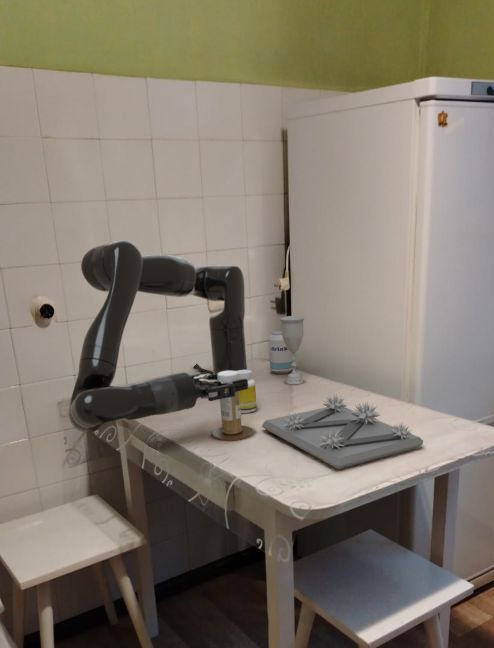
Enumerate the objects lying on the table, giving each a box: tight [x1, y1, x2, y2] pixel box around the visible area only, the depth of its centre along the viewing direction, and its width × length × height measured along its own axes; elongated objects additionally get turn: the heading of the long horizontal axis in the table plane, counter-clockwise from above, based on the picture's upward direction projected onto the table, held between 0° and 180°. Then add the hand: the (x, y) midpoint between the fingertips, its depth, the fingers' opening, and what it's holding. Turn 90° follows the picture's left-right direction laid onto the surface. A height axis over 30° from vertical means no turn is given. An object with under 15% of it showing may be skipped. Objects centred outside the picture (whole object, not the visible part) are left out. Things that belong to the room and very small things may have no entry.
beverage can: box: [268, 330, 293, 375], centre depth 192 cm, size 7×7×12 cm
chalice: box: [279, 315, 306, 385], centre depth 179 cm, size 7×7×18 cm
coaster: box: [212, 425, 254, 442], centre depth 142 cm, size 9×9×1 cm
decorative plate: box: [261, 393, 424, 470], centre depth 134 cm, size 30×22×7 cm
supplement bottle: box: [237, 369, 258, 414], centre depth 157 cm, size 5×5×10 cm
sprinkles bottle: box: [217, 371, 243, 435], centre depth 139 cm, size 5×5×13 cm
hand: (236, 380), depth 139 cm, fingers open, 8 cm apart
